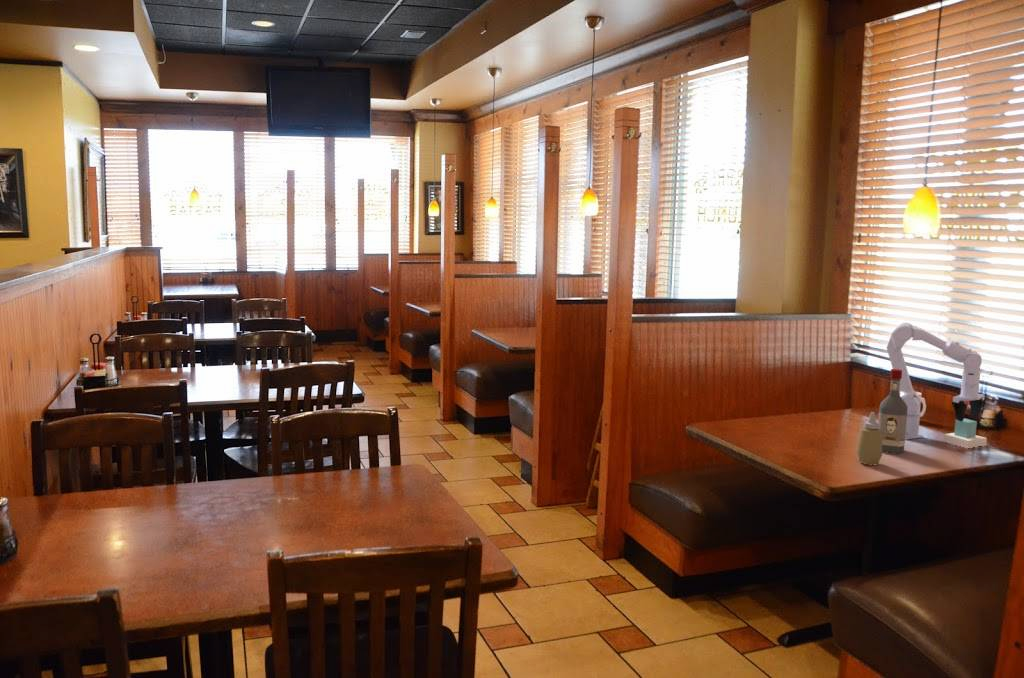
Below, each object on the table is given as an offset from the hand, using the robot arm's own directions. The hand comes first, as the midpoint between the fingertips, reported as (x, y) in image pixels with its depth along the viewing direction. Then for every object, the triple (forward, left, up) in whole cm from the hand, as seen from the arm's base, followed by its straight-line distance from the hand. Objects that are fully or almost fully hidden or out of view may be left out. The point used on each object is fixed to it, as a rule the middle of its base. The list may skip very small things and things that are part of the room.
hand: (966, 419), depth 302 cm
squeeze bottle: (-54, -5, -10) cm, 55 cm away
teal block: (0, 0, -6) cm, 6 cm away
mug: (+11, +32, -10) cm, 35 cm away
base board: (0, 0, -9) cm, 9 cm away
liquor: (-34, +4, -10) cm, 36 cm away
